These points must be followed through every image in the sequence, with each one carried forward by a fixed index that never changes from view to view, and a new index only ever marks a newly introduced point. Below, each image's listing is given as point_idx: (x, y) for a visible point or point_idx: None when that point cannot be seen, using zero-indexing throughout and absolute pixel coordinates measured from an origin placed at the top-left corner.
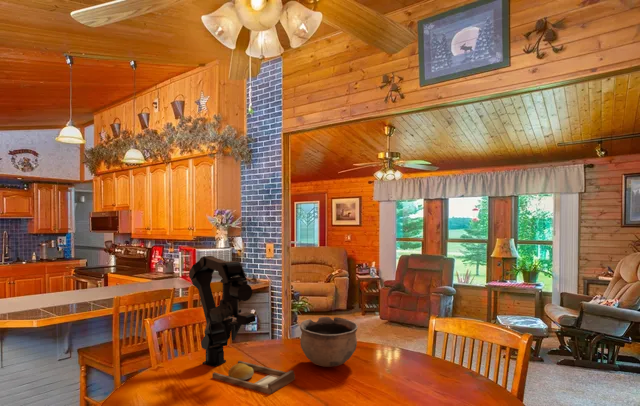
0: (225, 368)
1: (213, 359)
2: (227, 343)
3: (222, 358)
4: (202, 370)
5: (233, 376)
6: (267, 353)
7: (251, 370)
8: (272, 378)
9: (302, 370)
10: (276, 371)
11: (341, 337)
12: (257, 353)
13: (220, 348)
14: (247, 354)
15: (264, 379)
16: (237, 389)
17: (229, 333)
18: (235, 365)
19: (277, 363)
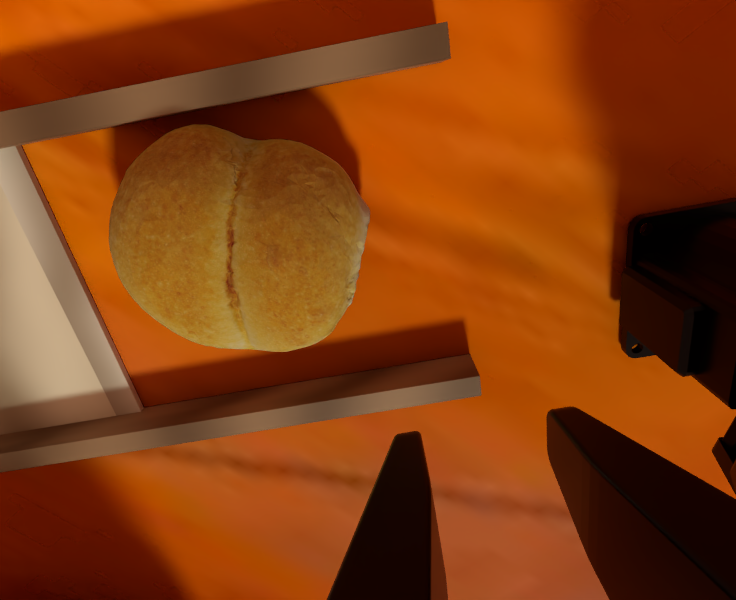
0: (522, 265)
1: (701, 249)
2: (721, 468)
3: (639, 322)
4: (680, 91)
5: (199, 127)
6: (474, 588)
7: (134, 299)
8: (54, 371)
9: (75, 557)
10: (72, 440)
11: None
12: (531, 557)
13: (730, 363)
14: None
15: (72, 322)
16: (38, 40)
17: (606, 558)
18: (282, 235)
19: (286, 537)
